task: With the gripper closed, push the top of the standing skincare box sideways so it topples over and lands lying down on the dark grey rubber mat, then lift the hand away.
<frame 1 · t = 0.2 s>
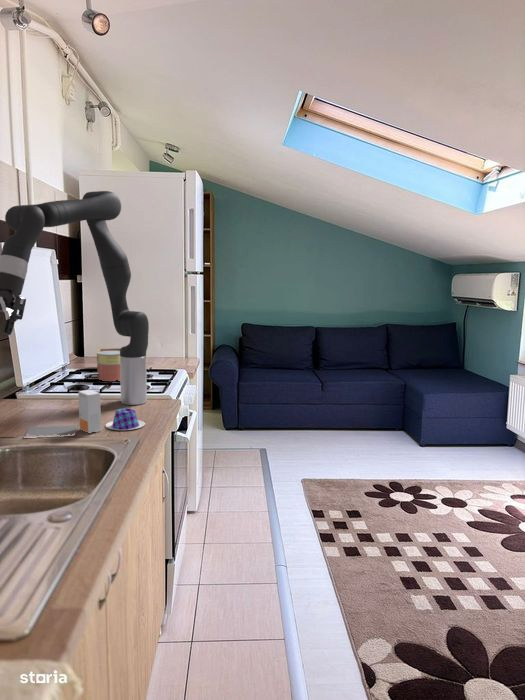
dish crate: (122, 369, 261), on the worktop
canned food: (111, 380, 237), on the worktop
skincare box: (90, 431, 165), on the worktop
pudding: (125, 427, 171), on the worktop
mat: (51, 432, 163), on the worktop
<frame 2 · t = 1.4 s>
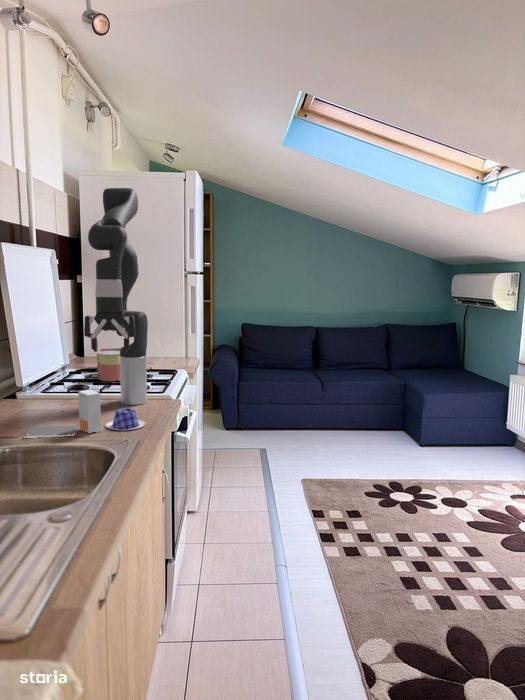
hand: (110, 351, 160), 25 cm above the worktop, tool pointing down, fingers open, 8 cm apart
nothing on the worktop moved.
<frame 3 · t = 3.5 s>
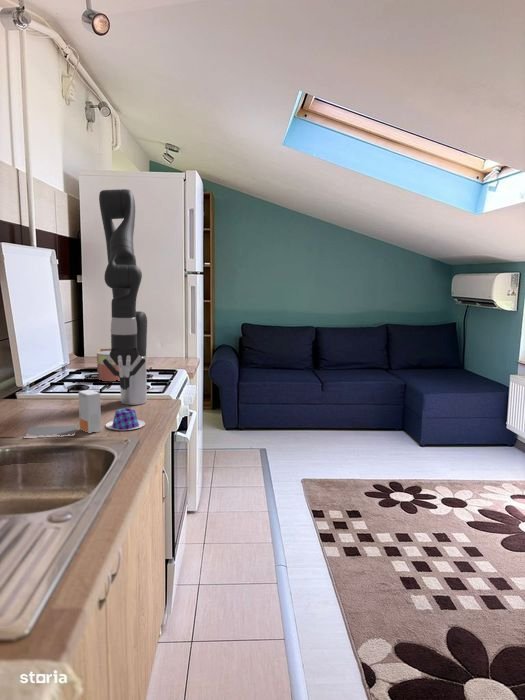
hand: (124, 389, 166), 13 cm above the worktop, tool pointing down, fingers closed
nothing on the worktop moved.
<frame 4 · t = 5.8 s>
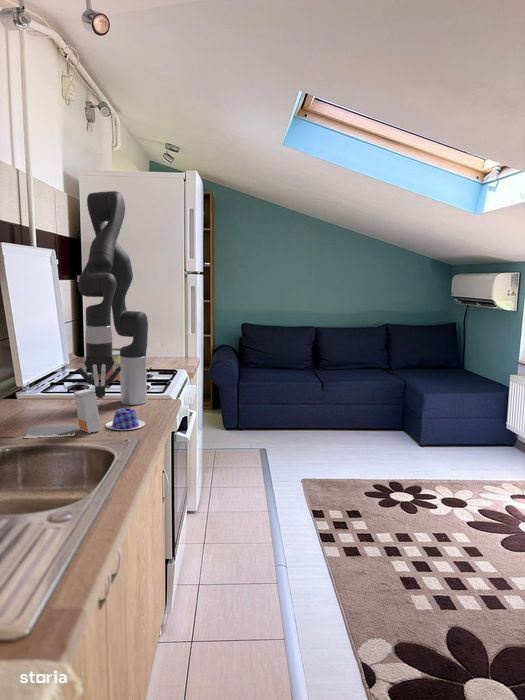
hand: (100, 397, 164), 10 cm above the worktop, tool pointing down, fingers closed
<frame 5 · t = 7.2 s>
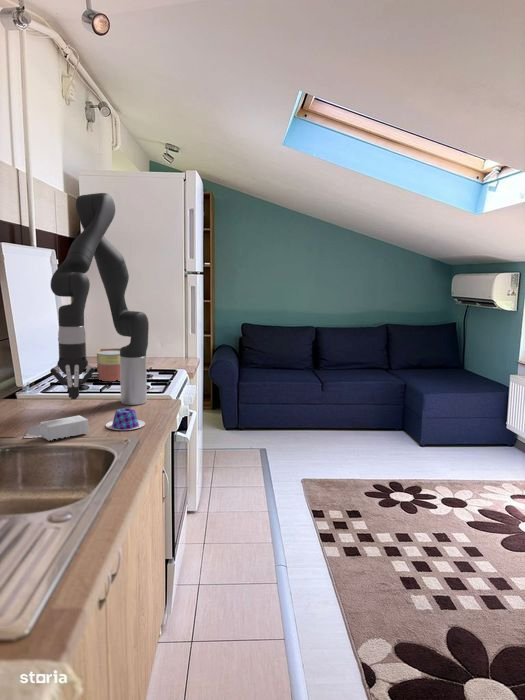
hand: (73, 398, 163), 10 cm above the worktop, tool pointing down, fingers closed
skincare box: (85, 423, 164), point 3 cm above the worktop, touching mat
everything else where it was.
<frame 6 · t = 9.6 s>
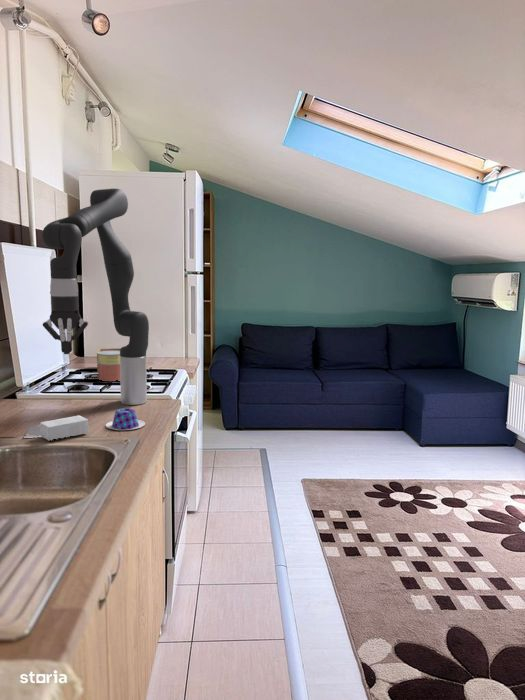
hand: (66, 353, 160), 24 cm above the worktop, tool pointing down, fingers closed
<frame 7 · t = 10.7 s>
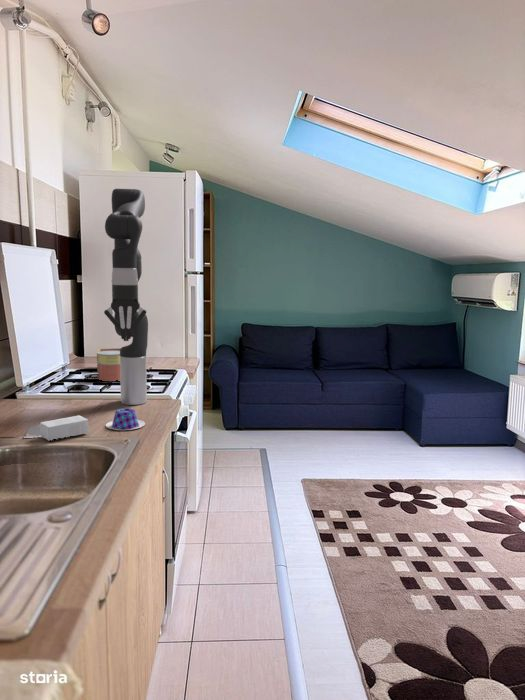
hand: (126, 340, 167), 27 cm above the worktop, tool pointing down, fingers closed
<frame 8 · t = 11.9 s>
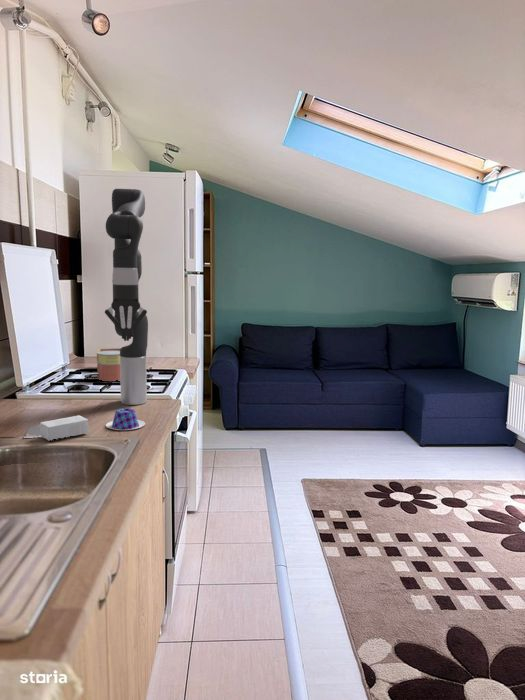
hand: (126, 340, 167), 27 cm above the worktop, tool pointing down, fingers closed
nothing on the worktop moved.
at the end: skincare box tilted 90°; skincare box 9.7 cm from the mat (horizontally); skincare box point 2.5 cm above the worktop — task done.
